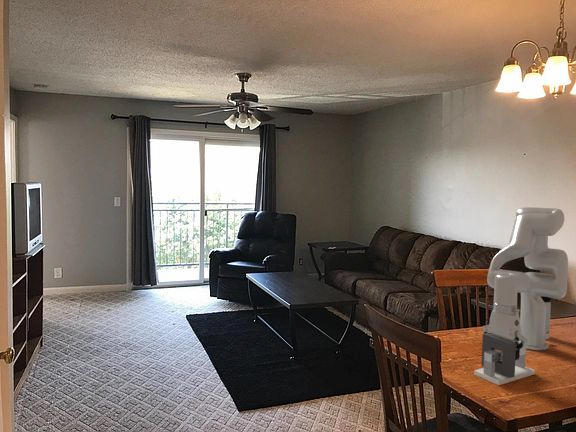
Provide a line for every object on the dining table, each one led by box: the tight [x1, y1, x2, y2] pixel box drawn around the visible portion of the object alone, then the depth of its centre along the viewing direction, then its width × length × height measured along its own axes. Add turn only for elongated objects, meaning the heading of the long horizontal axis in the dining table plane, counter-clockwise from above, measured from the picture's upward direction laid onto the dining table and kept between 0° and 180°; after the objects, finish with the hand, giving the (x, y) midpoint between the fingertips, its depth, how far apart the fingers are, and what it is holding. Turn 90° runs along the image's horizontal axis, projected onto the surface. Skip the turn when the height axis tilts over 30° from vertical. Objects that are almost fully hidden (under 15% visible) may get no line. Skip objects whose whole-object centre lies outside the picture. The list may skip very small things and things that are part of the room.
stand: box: [473, 354, 536, 386], centre depth 165 cm, size 20×10×6 cm, turn 119°
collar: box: [481, 332, 516, 378], centre depth 163 cm, size 2×12×12 cm, turn 29°
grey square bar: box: [484, 345, 527, 363], centre depth 165 cm, size 19×3×3 cm, turn 119°
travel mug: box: [540, 296, 552, 336], centre depth 206 cm, size 6×7×20 cm
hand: (502, 355), depth 164 cm, fingers open, 9 cm apart
